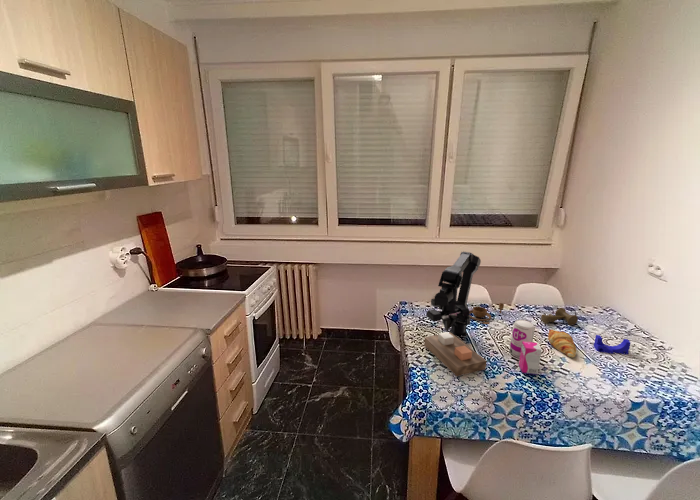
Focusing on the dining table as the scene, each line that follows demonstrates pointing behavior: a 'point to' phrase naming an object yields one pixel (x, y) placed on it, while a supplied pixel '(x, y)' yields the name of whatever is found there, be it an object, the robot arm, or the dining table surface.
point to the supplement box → (530, 358)
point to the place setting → (483, 313)
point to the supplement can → (521, 336)
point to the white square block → (445, 338)
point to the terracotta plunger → (463, 353)
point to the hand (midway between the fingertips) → (446, 330)
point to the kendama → (559, 317)
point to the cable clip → (620, 348)
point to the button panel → (453, 362)
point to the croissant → (562, 342)
